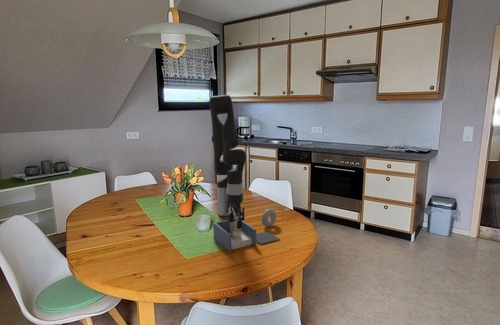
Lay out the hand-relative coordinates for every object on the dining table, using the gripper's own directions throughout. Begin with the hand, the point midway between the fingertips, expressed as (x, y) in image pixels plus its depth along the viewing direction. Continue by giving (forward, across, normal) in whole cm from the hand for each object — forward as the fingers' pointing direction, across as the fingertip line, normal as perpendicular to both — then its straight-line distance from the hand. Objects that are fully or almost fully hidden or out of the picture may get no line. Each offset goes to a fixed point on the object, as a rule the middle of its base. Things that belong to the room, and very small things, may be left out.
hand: (235, 225), depth 150 cm
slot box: (+9, -1, 0) cm, 9 cm away
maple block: (+6, 0, 0) cm, 6 cm away
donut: (+9, -10, +25) cm, 28 cm away
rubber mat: (+9, +2, +15) cm, 17 cm away
